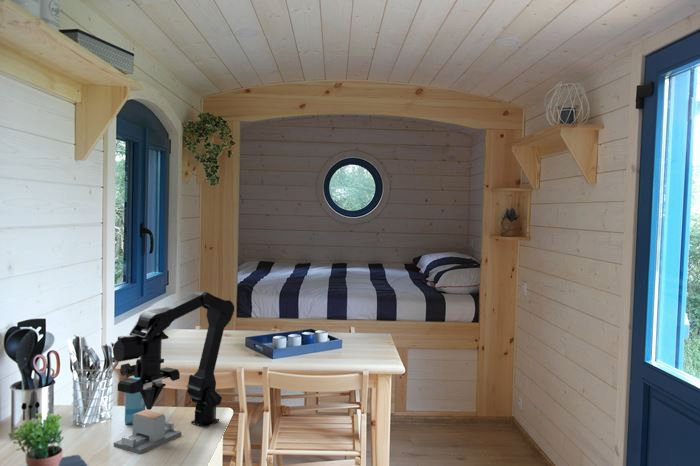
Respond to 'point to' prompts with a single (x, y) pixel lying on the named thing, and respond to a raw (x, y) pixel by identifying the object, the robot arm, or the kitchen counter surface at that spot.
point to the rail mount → (146, 440)
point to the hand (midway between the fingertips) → (148, 409)
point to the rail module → (149, 425)
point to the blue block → (133, 405)
